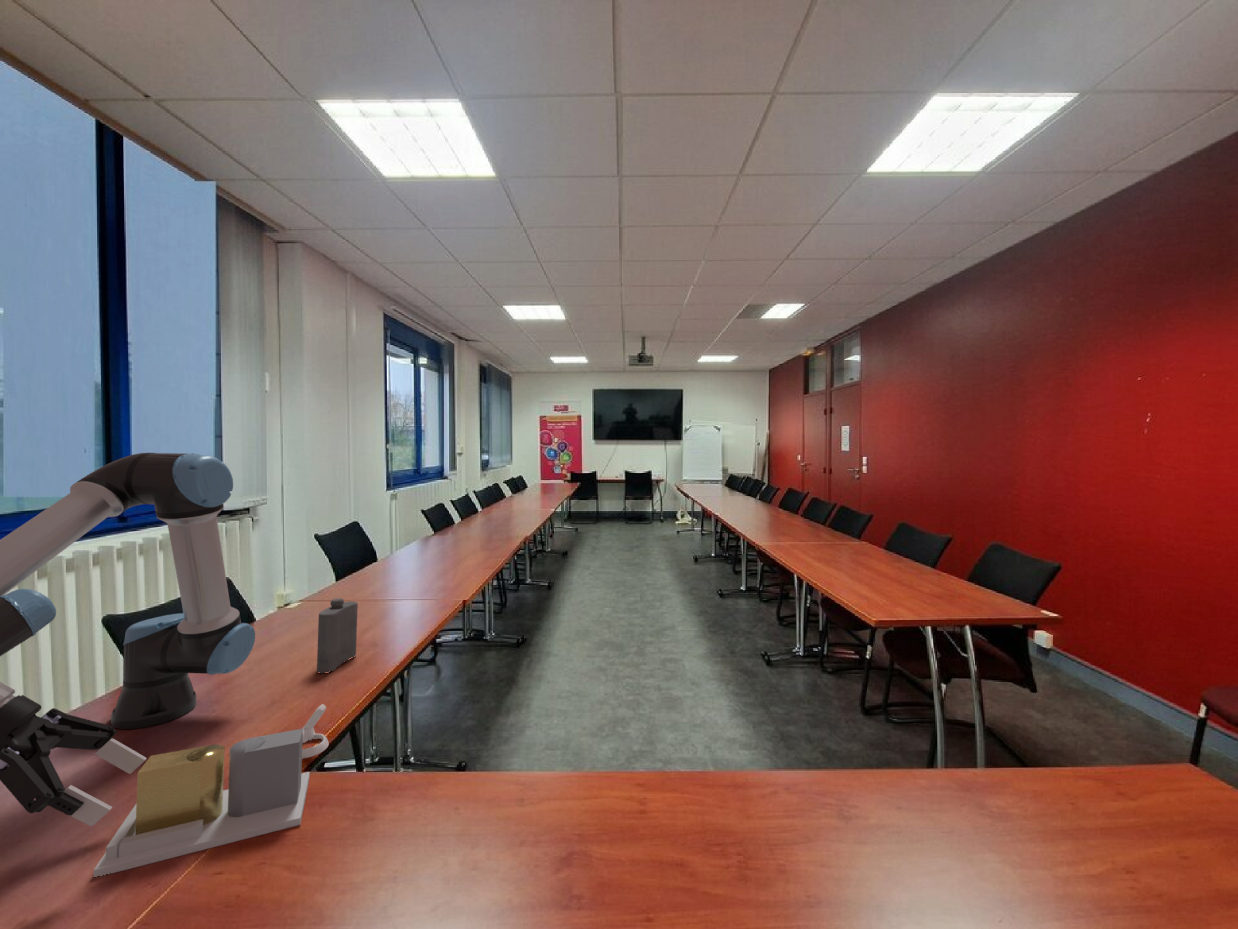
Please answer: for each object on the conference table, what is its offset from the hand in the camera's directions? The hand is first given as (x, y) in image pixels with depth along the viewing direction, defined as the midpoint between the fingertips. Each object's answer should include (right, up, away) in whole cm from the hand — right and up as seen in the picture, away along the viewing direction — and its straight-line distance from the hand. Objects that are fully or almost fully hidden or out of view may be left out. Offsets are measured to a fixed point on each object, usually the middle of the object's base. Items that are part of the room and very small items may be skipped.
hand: (122, 789), depth 79 cm
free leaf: (+7, -8, +4) cm, 11 cm away
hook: (+13, -10, +28) cm, 32 cm away
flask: (-7, -9, +72) cm, 73 cm away
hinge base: (+11, -9, +6) cm, 15 cm away
